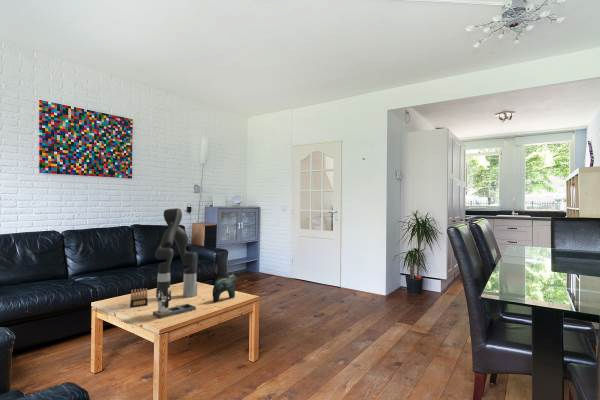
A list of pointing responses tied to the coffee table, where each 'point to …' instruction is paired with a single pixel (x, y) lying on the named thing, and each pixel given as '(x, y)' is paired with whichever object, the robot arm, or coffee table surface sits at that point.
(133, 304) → the ammunition clip
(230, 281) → the dark green animal figure
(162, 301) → the grey metal block
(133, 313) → the coffee table surface
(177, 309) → the grey peg board
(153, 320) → the coffee table surface
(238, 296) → the coffee table surface
